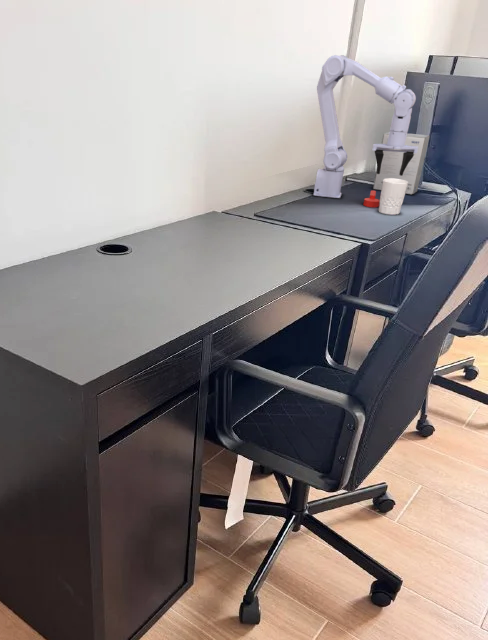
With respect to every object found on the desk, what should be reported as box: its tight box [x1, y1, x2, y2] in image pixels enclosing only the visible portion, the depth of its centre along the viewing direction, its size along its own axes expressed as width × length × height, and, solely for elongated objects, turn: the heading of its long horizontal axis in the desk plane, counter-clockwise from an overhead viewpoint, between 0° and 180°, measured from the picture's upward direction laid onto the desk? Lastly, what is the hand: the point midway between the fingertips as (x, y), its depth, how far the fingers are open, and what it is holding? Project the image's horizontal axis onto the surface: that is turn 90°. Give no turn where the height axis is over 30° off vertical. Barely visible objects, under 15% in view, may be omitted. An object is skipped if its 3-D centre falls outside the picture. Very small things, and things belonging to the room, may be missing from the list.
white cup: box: [378, 178, 408, 216], centre depth 189 cm, size 8×8×10 cm
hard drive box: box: [372, 131, 430, 195], centre depth 217 cm, size 16×8×20 cm, turn 58°
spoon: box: [363, 190, 380, 208], centre depth 202 cm, size 13×5×3 cm, turn 163°
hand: (389, 174), depth 198 cm, fingers open, 7 cm apart
